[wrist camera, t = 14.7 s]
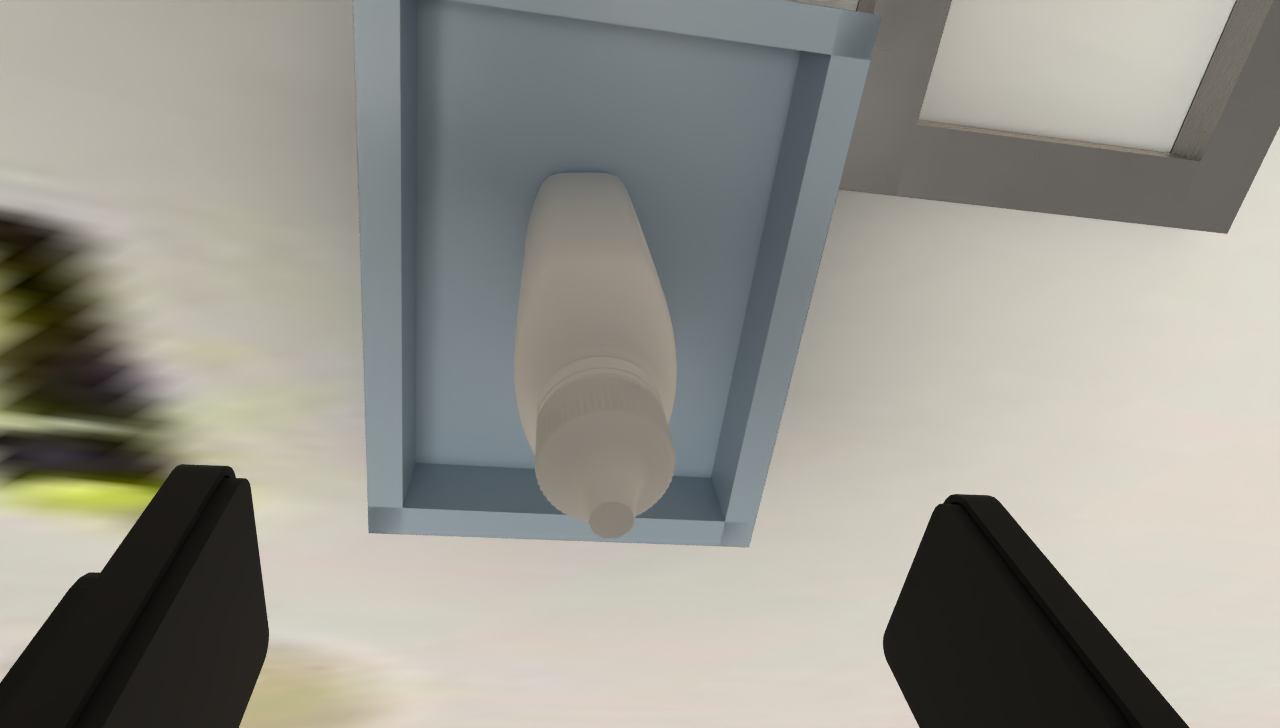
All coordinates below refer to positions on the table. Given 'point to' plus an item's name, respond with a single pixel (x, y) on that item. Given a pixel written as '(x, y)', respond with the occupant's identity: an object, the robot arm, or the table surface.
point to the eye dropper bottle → (594, 354)
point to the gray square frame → (1058, 168)
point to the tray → (664, 204)
